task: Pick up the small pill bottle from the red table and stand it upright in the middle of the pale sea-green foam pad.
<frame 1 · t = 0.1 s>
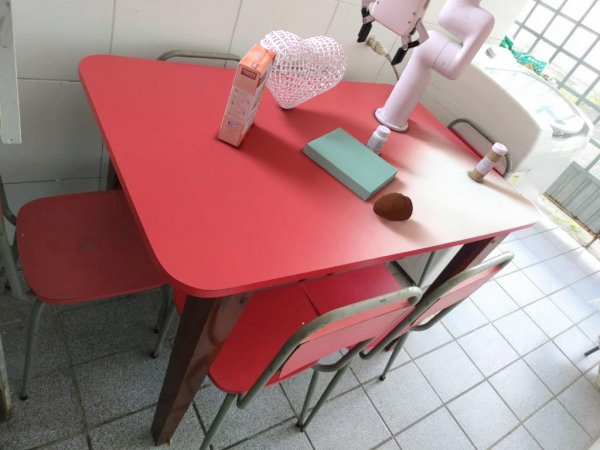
hand: (377, 52, 93), 31 cm above the table, tool pointing down, fingers open, 9 cm apart
cracker box: (236, 131, 108), on the table
potato: (387, 218, 105), on the table
pill bottle: (371, 152, 126), on the table
heart: (285, 108, 125), on the table
foam pad: (349, 165, 116), on the table
sprinkles bottle: (474, 178, 139), on the table
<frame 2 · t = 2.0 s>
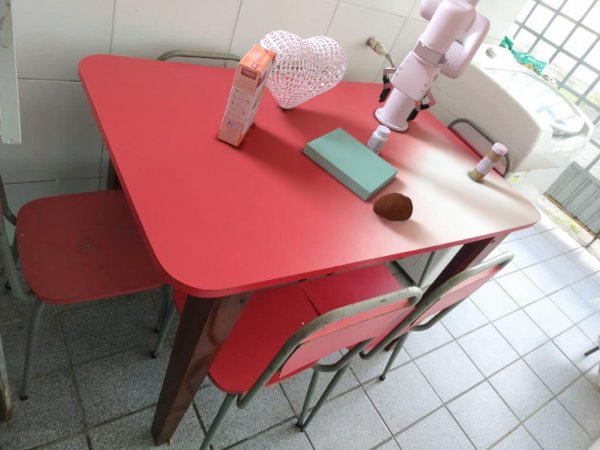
hand: (394, 110, 115), 15 cm above the table, tool pointing down, fingers open, 9 cm apart
nothing on the table moved.
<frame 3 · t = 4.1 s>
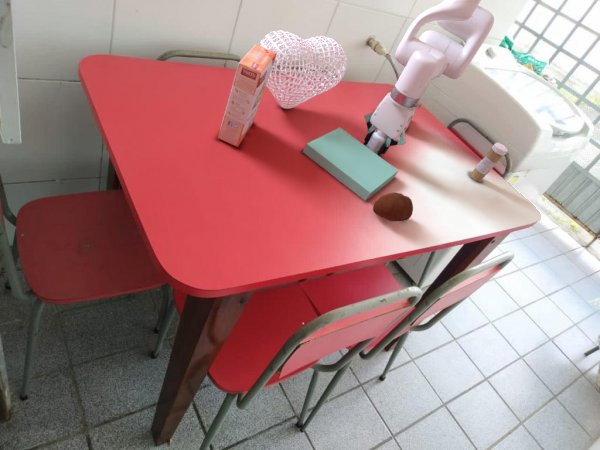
hand: (373, 148, 125), 1 cm above the table, tool pointing down, fingers closed on pill bottle, 4 cm apart
pill bottle: (371, 152, 126), on the table, touching gripper
everything else where it was.
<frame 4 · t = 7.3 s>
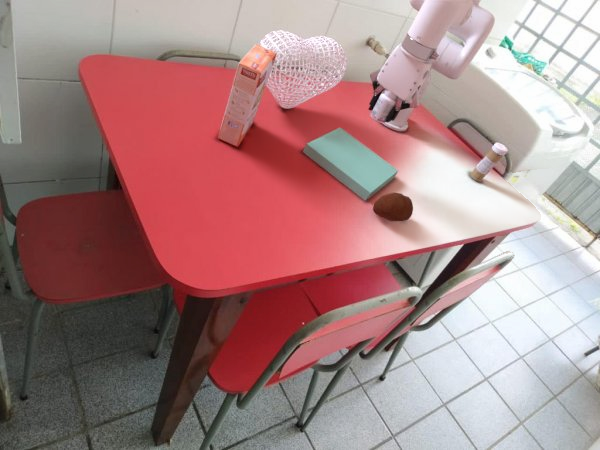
hand: (380, 114, 105), 17 cm above the table, tool pointing down, fingers closed on pill bottle, 4 cm apart
pill bottle: (377, 118, 106), point 15 cm above the table, touching gripper
everything else where it was.
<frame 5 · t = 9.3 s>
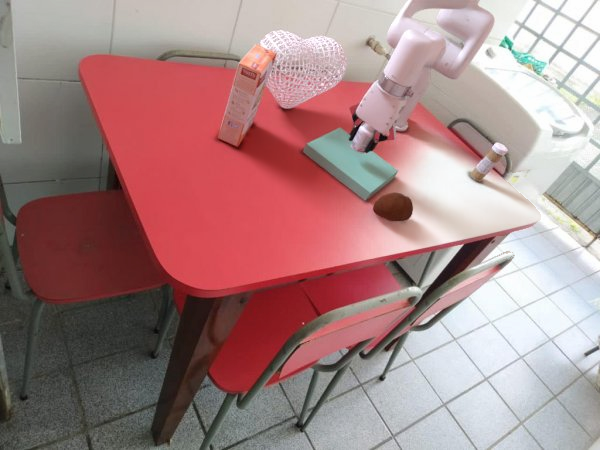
hand: (360, 144, 110), 8 cm above the table, tool pointing down, fingers closed on pill bottle, 4 cm apart
pill bottle: (357, 148, 111), point 6 cm above the table, touching gripper
everything else where it was.
when the fingers open (4 cm above the table, at t = 10.6 s): pill bottle stays where it is, resting on foam pad.
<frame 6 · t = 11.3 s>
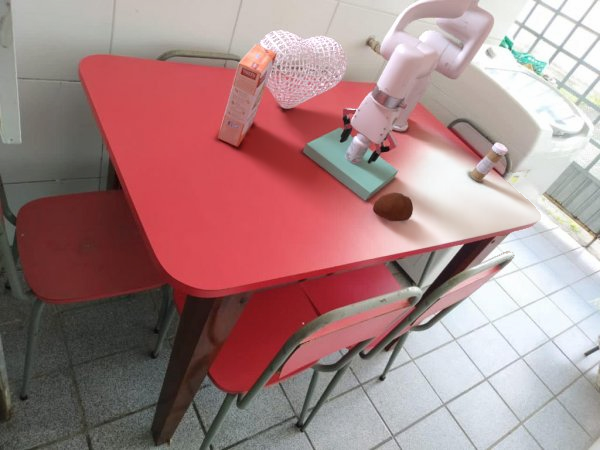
hand: (356, 151, 111), 6 cm above the table, tool pointing down, fingers open, 9 cm apart
pill bottle: (352, 159, 113), point 3 cm above the table, touching foam pad
everything else where it was.
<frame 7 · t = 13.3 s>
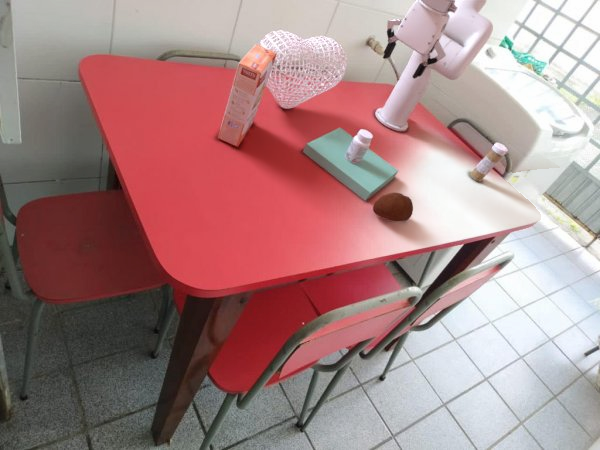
hand: (400, 67, 108), 26 cm above the table, tool pointing down, fingers open, 9 cm apart
nothing on the table moved.
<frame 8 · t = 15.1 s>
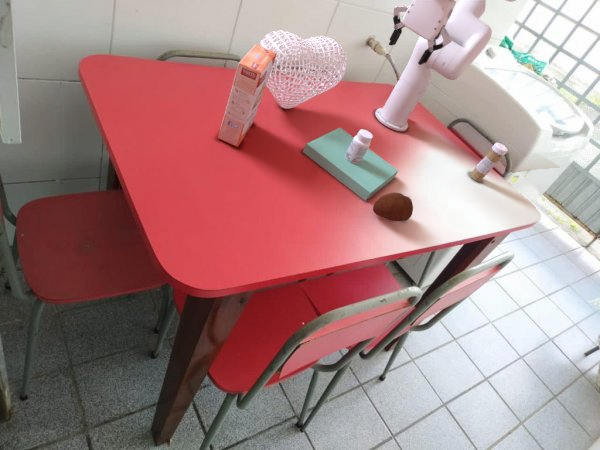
hand: (406, 54, 110), 28 cm above the table, tool pointing down, fingers open, 9 cm apart
nothing on the table moved.
at the end: pill bottle inside the target area on the foam pad (1.0 cm from its centre), point 2.8 cm above the foam pad's base; pill bottle tilted 0°; the gripper is holding nothing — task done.
